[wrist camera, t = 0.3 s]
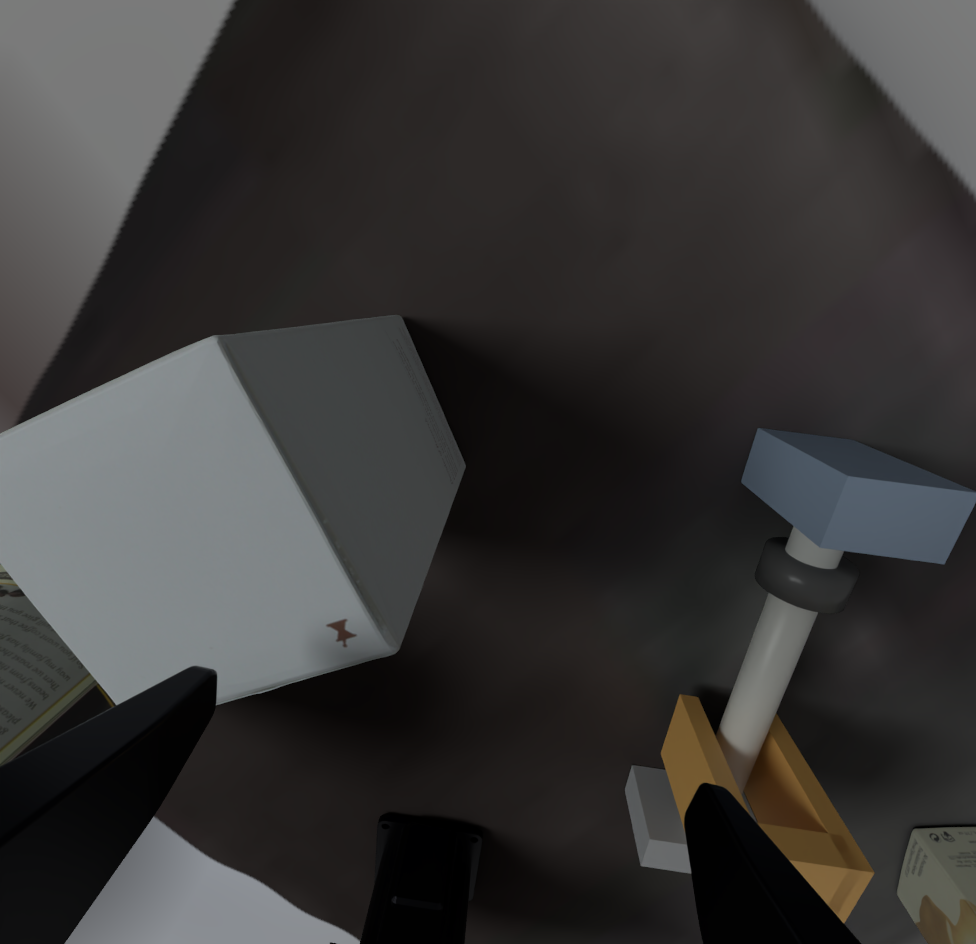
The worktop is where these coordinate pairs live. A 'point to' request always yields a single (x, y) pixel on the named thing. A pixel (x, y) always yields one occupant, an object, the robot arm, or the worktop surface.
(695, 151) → the worktop surface
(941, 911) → the skincare box
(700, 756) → the sleeve
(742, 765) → the grey mallet
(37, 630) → the coffee can
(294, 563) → the supplement box
